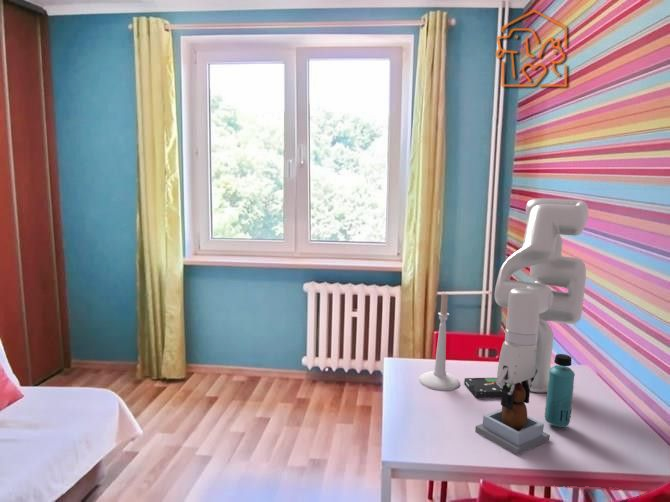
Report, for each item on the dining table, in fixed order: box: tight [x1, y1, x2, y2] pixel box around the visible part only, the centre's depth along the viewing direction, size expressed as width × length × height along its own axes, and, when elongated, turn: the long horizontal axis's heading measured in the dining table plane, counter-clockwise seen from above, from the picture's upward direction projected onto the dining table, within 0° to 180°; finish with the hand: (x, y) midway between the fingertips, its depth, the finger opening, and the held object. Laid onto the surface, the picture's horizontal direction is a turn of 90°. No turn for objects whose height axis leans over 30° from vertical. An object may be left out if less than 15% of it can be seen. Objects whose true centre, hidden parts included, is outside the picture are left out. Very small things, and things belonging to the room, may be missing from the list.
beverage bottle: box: [543, 353, 576, 427], centre depth 135 cm, size 6×7×20 cm
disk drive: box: [463, 377, 510, 399], centre depth 157 cm, size 10×3×15 cm
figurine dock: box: [474, 408, 551, 456], centre depth 130 cm, size 13×13×4 cm
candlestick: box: [418, 292, 460, 391], centre depth 161 cm, size 13×13×30 cm
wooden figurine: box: [501, 382, 528, 431], centre depth 129 cm, size 7×6×15 cm
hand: (514, 403), depth 129 cm, fingers closed on wooden figurine, 5 cm apart
